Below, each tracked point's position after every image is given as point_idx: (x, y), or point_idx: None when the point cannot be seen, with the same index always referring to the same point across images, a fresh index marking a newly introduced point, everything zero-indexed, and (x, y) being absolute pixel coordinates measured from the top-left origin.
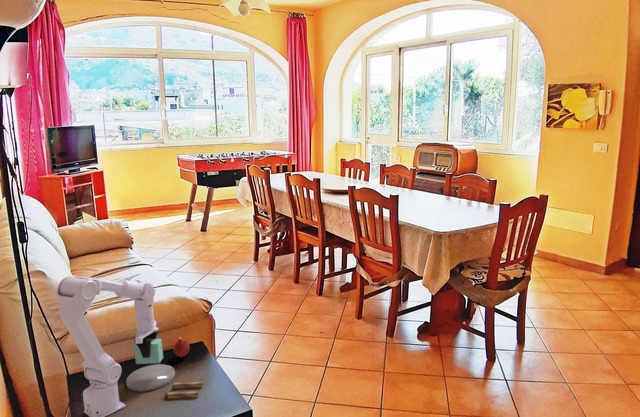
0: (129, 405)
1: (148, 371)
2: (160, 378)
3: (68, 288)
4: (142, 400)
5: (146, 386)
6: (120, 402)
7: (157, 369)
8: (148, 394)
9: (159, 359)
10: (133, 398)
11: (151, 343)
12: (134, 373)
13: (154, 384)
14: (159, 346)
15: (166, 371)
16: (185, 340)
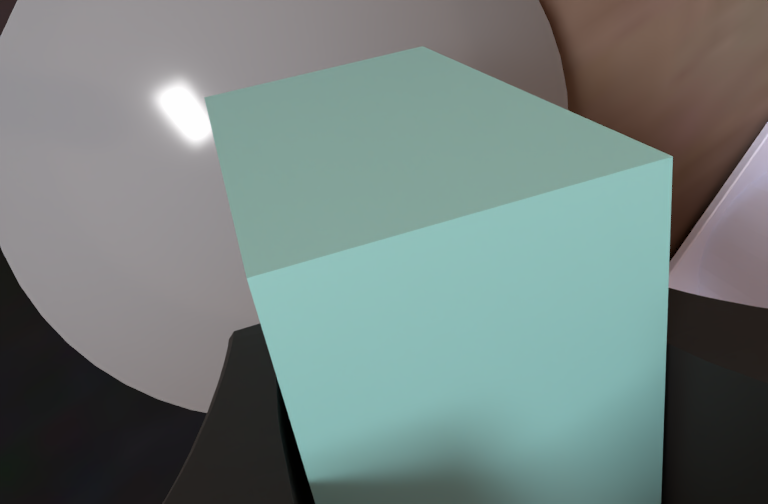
0: (754, 89)
1: (219, 273)
2: (356, 15)
3: None
4: (695, 9)
5: (536, 89)
6: (740, 184)
7: (144, 194)
8: (599, 8)
9: (423, 61)
10: (654, 123)
11: (622, 368)
12: None
13: (498, 13)
14: (458, 146)
15: (166, 31)
16: None
